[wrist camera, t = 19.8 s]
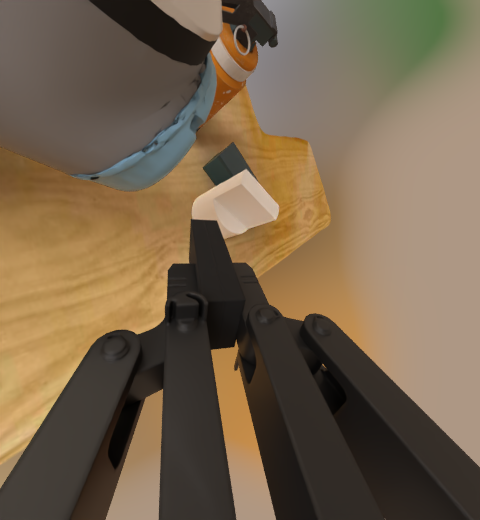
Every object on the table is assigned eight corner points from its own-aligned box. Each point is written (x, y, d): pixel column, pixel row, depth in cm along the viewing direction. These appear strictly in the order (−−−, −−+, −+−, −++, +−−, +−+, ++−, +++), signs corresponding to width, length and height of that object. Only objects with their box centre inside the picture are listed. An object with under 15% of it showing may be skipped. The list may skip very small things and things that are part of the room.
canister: (200, 143, 42) (292, 64, 28) (141, 118, 34) (230, -8, 20) (195, 99, 43) (282, 1, 29) (136, 64, 35) (218, -92, 21)
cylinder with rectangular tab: (234, 213, 46) (282, 193, 38) (222, 250, 42) (273, 236, 34) (201, 184, 41) (249, 153, 33) (184, 222, 37) (234, 198, 29)
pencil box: (201, 167, 42) (219, 154, 38) (215, 154, 45) (233, 141, 41) (246, 228, 48) (265, 222, 45) (256, 213, 52) (273, 206, 48)
